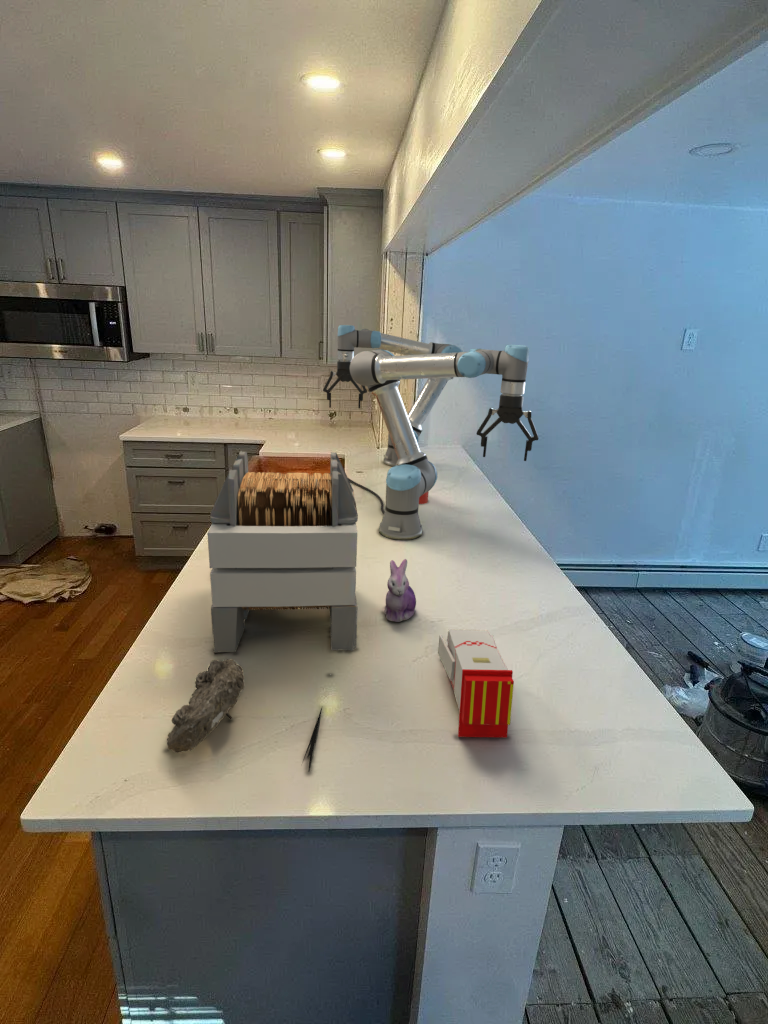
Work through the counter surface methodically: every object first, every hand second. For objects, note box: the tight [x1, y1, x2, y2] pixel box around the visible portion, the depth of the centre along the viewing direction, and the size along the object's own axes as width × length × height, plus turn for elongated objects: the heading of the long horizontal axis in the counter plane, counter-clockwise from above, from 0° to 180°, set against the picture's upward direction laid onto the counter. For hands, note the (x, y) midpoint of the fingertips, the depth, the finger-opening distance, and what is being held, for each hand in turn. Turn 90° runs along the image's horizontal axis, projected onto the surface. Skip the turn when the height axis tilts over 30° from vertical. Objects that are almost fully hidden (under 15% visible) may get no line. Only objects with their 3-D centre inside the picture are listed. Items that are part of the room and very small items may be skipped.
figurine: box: [384, 558, 417, 623], centre depth 145 cm, size 9×10×15 cm
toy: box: [437, 628, 515, 738], centre depth 117 cm, size 12×13×30 cm
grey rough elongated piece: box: [166, 658, 245, 754], centre depth 106 cm, size 22×10×15 cm
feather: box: [301, 673, 332, 771], centre depth 108 cm, size 2×28×2 cm
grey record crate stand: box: [206, 450, 359, 654], centre depth 137 cm, size 34×33×41 cm
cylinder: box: [419, 490, 430, 505], centre depth 233 cm, size 8×8×13 cm
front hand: (504, 458), depth 191 cm, fingers open, 13 cm apart
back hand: (344, 407), depth 265 cm, fingers open, 13 cm apart
